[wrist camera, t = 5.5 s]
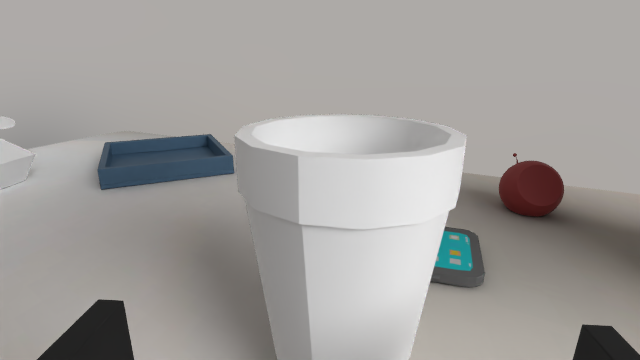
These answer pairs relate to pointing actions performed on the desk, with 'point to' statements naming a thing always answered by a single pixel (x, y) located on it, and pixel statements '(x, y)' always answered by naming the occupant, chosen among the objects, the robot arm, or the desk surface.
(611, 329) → the robot arm
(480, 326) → the desk surface
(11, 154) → the tape dispenser
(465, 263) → the smartphone
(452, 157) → the foam cup
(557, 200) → the fruit
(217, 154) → the tray
